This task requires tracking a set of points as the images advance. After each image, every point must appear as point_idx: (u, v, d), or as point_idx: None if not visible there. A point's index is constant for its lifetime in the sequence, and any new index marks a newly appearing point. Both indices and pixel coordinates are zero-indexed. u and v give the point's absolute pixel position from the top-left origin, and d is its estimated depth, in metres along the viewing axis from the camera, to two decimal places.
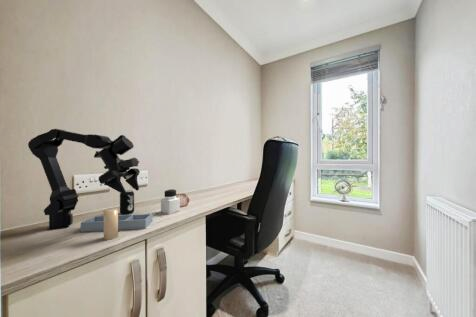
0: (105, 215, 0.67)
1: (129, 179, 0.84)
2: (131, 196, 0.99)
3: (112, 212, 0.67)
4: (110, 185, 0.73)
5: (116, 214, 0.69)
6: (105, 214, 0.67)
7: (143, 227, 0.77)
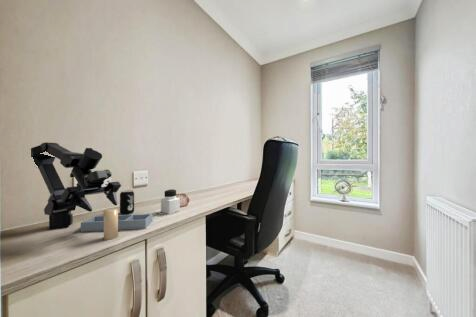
0: (105, 215, 0.67)
1: (108, 194, 0.77)
2: (131, 196, 0.99)
3: (112, 212, 0.67)
4: (75, 203, 0.66)
5: (116, 214, 0.69)
6: (105, 214, 0.67)
7: (143, 227, 0.77)
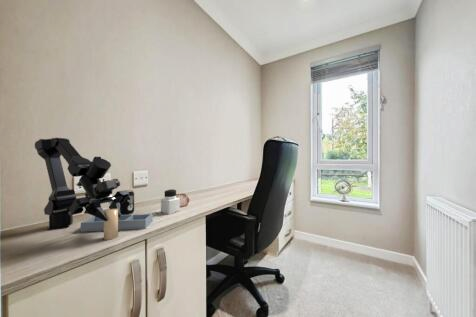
0: None
1: (111, 205, 0.73)
2: (131, 196, 0.99)
3: (112, 212, 0.67)
4: (91, 213, 0.66)
5: (116, 214, 0.69)
6: None
7: (143, 227, 0.77)
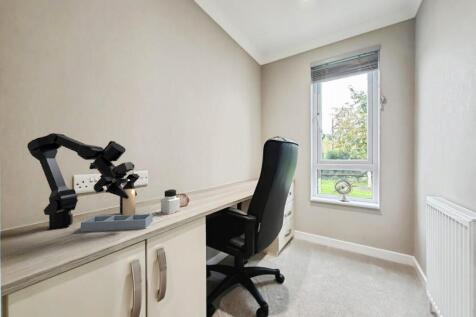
0: None
1: (125, 186, 0.79)
2: None
3: (132, 191, 0.75)
4: (112, 192, 0.72)
5: (134, 193, 0.76)
6: None
7: (143, 227, 0.77)
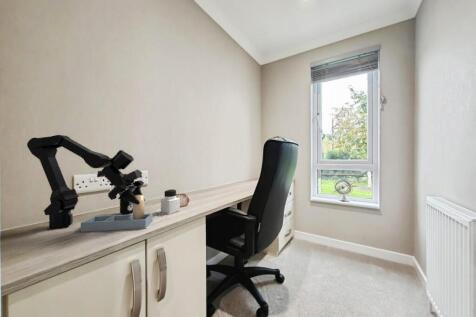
0: None
1: (133, 192, 0.84)
2: None
3: (142, 197, 0.81)
4: (124, 198, 0.77)
5: None
6: None
7: (143, 227, 0.77)
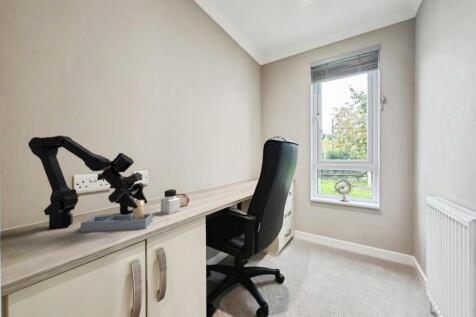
0: None
1: (135, 194, 0.86)
2: (131, 196, 0.99)
3: (142, 202, 0.80)
4: (121, 202, 0.75)
5: None
6: (136, 204, 0.79)
7: (143, 227, 0.77)
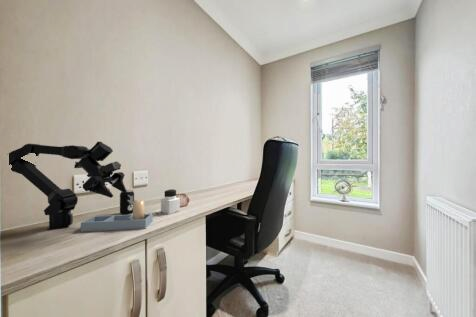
0: (136, 205, 0.79)
1: (115, 183, 0.86)
2: (131, 196, 0.99)
3: (142, 202, 0.80)
4: (96, 191, 0.75)
5: None
6: (136, 204, 0.79)
7: (143, 227, 0.77)
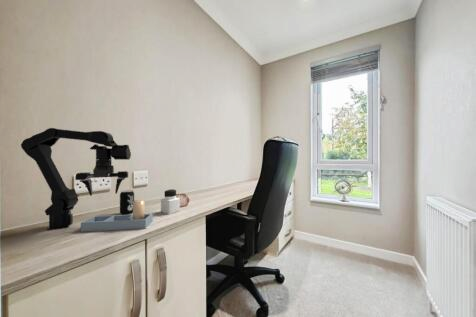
0: (137, 205, 0.79)
1: None
2: (131, 196, 0.99)
3: (142, 202, 0.81)
4: None
5: None
6: (137, 204, 0.79)
7: (143, 227, 0.77)
